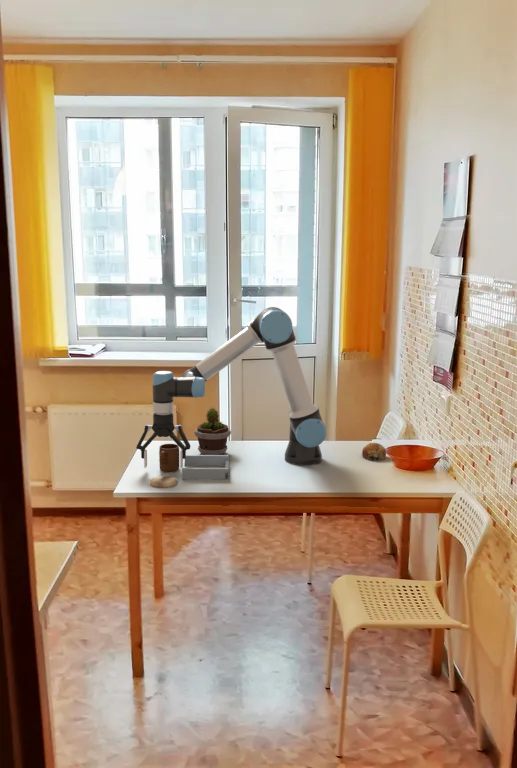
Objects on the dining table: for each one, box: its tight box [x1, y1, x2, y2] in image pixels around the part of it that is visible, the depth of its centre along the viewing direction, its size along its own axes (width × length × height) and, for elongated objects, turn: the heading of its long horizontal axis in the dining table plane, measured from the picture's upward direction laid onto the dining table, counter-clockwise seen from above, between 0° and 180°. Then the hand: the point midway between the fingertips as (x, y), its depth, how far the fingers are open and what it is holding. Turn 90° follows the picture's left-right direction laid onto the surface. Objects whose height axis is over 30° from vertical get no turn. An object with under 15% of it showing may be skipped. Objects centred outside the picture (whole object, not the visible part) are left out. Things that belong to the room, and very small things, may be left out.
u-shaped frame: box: [181, 454, 230, 480], centre depth 253 cm, size 17×17×4 cm
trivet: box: [149, 475, 178, 489], centre depth 240 cm, size 10×10×1 cm
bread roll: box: [361, 442, 387, 461], centre depth 274 cm, size 10×10×8 cm
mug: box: [158, 443, 180, 473], centre depth 252 cm, size 12×8×9 cm, turn 165°
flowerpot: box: [194, 406, 232, 455], centre depth 274 cm, size 14×15×20 cm
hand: (163, 466), depth 252 cm, fingers open, 13 cm apart
